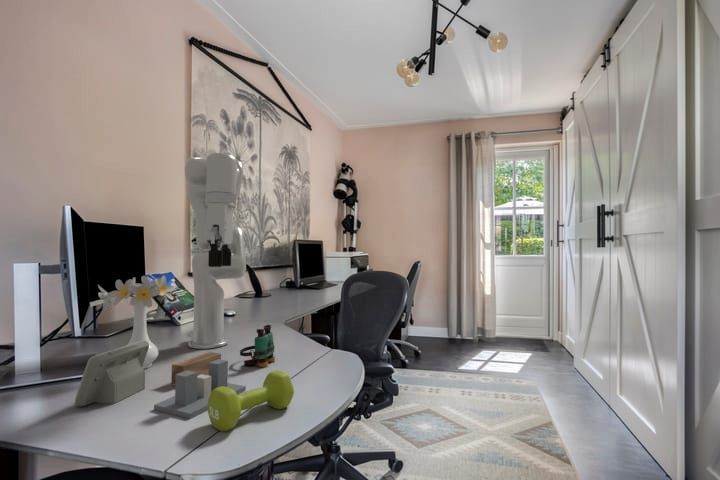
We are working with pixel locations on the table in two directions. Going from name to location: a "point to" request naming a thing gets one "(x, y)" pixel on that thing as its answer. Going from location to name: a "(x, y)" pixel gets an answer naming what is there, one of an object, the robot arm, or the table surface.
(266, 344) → the binoculars
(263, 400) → the dumbbell
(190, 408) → the display stand
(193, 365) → the tan bar
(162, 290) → the flower vase
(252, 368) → the table surface
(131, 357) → the digital clock
